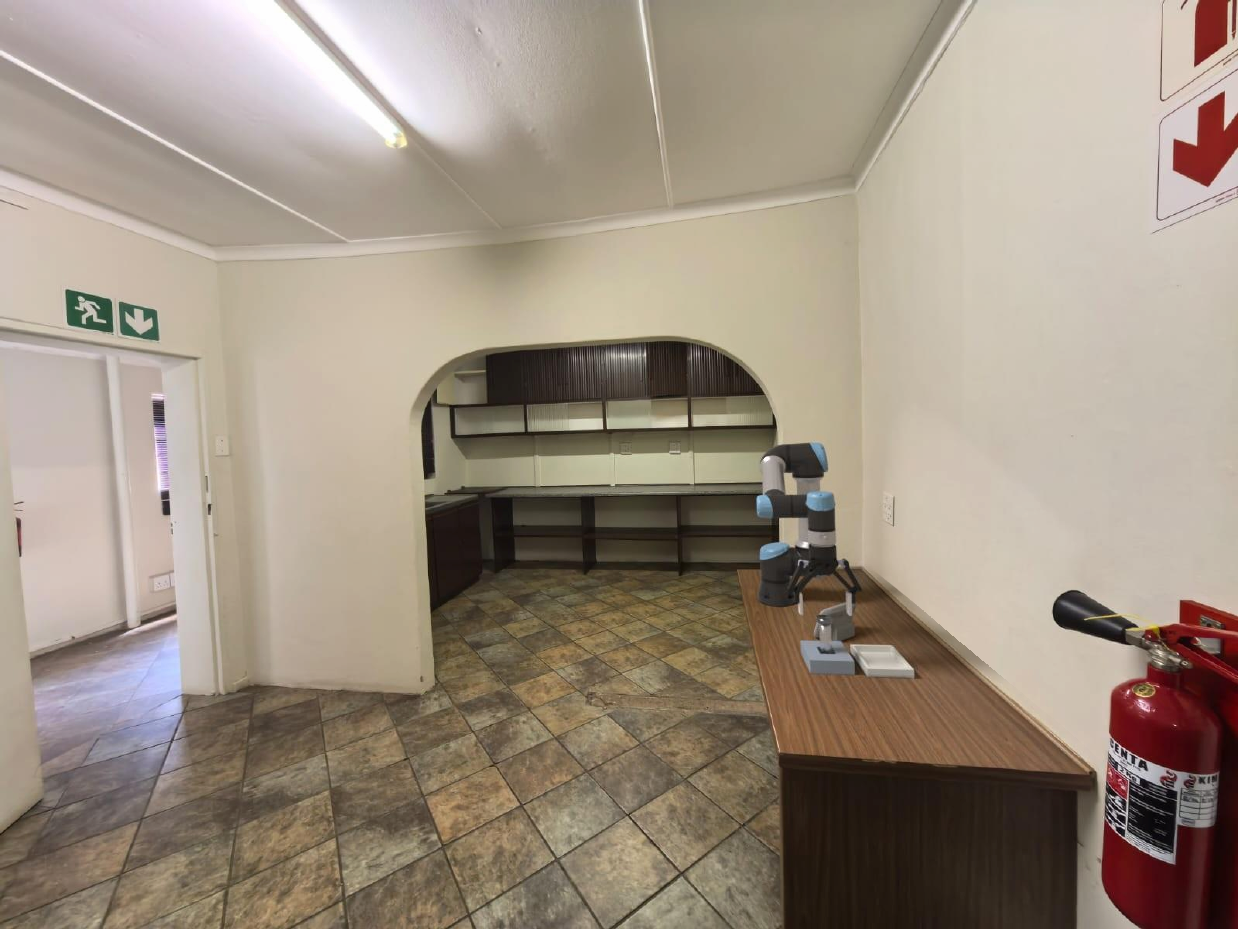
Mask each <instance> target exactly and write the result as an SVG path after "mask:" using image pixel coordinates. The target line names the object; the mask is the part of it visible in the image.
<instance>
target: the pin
mask: <svg viewBox="0 0 1238 929" xmlns="http://www.w3.org/2000/svg"><path fill="white" fill-rule="evenodd" d="M817 622H818V623H819V630H820V638H819V641H820V654H832V639H831V624H833V618H832V617H831V616H829V615H820V614H818V615H816V623H817Z"/></svg>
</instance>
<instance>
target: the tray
mask: <svg viewBox="0 0 1238 929" xmlns="http://www.w3.org/2000/svg"><path fill="white" fill-rule="evenodd" d="M849 647H850V648H849V649H850V655H851V656H853V659H855V661H856V662H857V664H858V665H859V666H860V668H861V670H862V671H863V672H864V674H865V675H866V677H867V678H883V679H884V678H886V679H887V678H889V679H890V678H892V679H915V669H914V667H912V666H911V665H910V664H909V663H908V661H907V660H906V659H905V658H904V656H903V655H901V653H900V652H899V651H898V650H897V649H896V648H895V647H894V645H891V644H888V645H887V644H850V646H849Z"/></svg>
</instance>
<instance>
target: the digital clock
mask: <svg viewBox="0 0 1238 929" xmlns="http://www.w3.org/2000/svg"><path fill="white" fill-rule="evenodd" d="M856 607H857V604H856V603H855V604H852V616H849V615H848V613H847V612H846V602H843V603H839V604H837V605H834V606H830V607H827V608H825V609H822V610H820V612H819V615H829V616H831V617H832V618H833V624H831V639H832V641H841V642H842V641H844V640H848V639H850V638H854V637H855V636H856V630H855V629H856V628H855V627H856V626H855V622H854V621H853V620H852V619H853V617H854V613H855V611H856ZM813 636H814V638H816V639H820V630H819V623H818V622H817V621H816V624H815V626H814V631H813Z"/></svg>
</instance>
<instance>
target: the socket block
mask: <svg viewBox="0 0 1238 929" xmlns="http://www.w3.org/2000/svg"><path fill="white" fill-rule="evenodd" d="M800 654H801V656H802V658H803V660H804V662H805V664H806V667H807V669H808V671H809V673H810V674H814V675H815V674H817V675H820V674H821V675H852V676H853V675H854V676H855V675H856V674H855V673H856V672H855V671H856V670H855V669H856V668H855V666H856V665H855V660H854V657H852V654H851V653H850V652H848V650H847V648H846V647H845V645H844V644H843V642H842V641H832V654H820V640H800Z"/></svg>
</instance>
